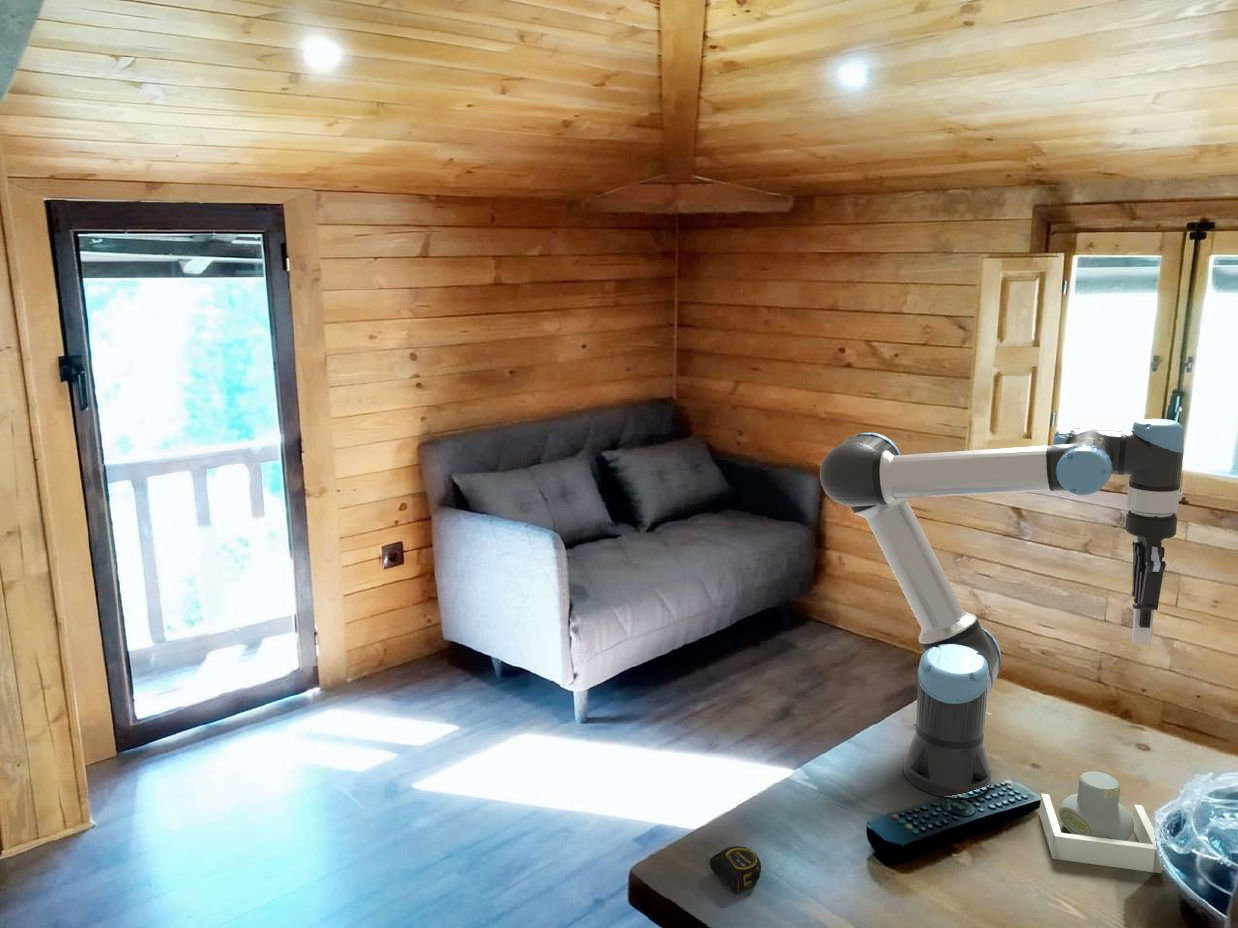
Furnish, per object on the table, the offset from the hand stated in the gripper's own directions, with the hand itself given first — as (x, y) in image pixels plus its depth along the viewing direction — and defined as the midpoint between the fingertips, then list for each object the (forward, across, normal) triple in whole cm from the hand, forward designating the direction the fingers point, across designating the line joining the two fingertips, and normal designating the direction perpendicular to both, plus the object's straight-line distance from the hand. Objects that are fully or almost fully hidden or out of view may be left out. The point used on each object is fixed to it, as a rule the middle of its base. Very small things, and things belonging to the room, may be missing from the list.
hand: (1141, 642), depth 163 cm
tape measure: (+26, -47, +63) cm, 83 cm away
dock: (+27, -21, +9) cm, 35 cm away
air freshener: (+27, -19, +9) cm, 34 cm away
